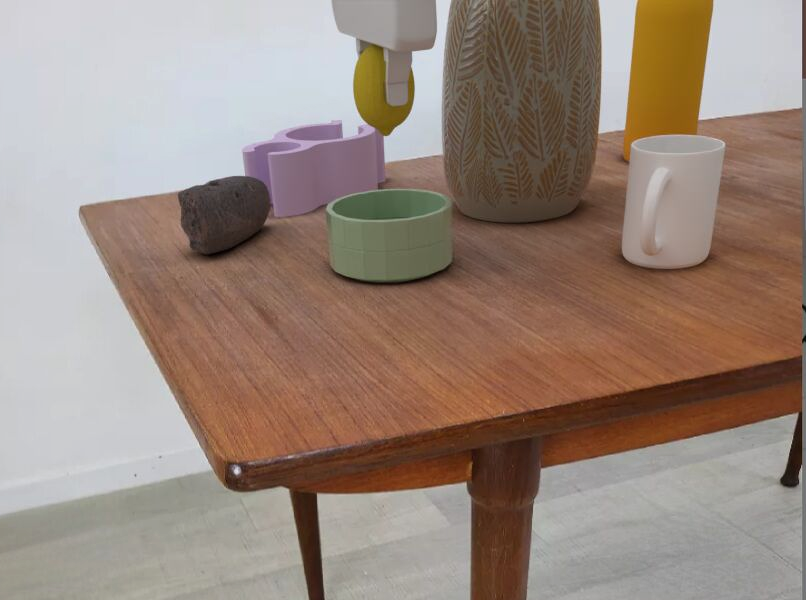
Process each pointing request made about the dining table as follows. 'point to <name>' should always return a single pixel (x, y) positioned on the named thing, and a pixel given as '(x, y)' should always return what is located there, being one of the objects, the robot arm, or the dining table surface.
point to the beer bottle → (667, 68)
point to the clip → (316, 165)
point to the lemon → (378, 92)
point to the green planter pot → (390, 234)
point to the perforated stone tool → (223, 212)
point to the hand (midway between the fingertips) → (384, 98)
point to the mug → (671, 200)
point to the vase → (520, 106)
